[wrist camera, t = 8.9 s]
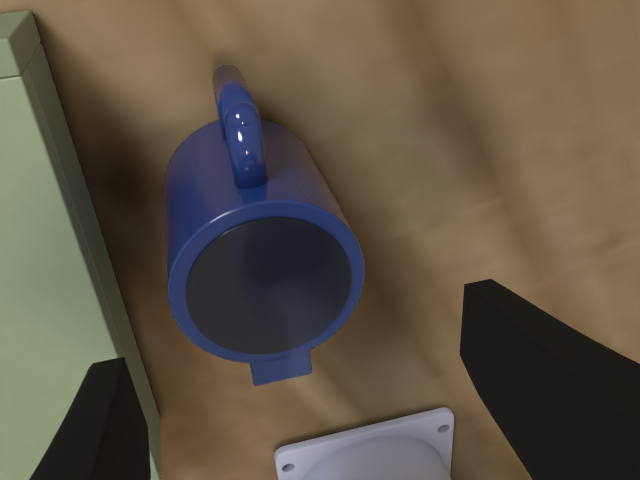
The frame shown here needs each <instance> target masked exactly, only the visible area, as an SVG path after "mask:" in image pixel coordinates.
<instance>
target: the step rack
mask: <svg viewBox="0 0 640 480" xmlns="http://www.w3.org/2000/svg"><path fill="white" fill-rule="evenodd" d="M40 42H41V39H40V36H39V33H38V30H37V27H36V23H35V20H34V17H33V14H32V12H31V11H30V10H25V11H17V12H9V13H0V480H29V479H30V477H31V475H32V474H33V472H34V471H35V469H36V467H37V466H38V464H39V463H40V461H41V459H42V457H43V456H44V454H45V452H46V450H47V449H48V447H49V445H50V443H51V441H52V440H53V438H54V436H55V434H56V432H57V430H58V429H59V427H60V425H61V423H62V421H63V419H64V417H65V416H66V414H67V412H68V410H69V408H70V406H71V404H72V402H73V400H74V398H75V396H76V394H77V392H78V390H79V388H80V385H81V383H82V381H83V379H84V377H85V375H86V373H87V370H88V369H89V367H90V366H91V365H92V363H96V362H101V361H106V360H110V359H115V358H120V357H125V360H126V363H127V366H128V369H129V372H130V375H131V378H132V381H133V384H134V387H135V390H136V393H137V396H138V399H139V402H140V405H141V408H142V411H143V414H144V416H145V419H146V422H147V425H148V435H149V450H150V468H151V480H161V454H160V417H159V414H158V410H157V407H156V405H155V401H154V398H153V394H152V391H151V388H150V385H149V382H148V379H147V375H146V372H145V369H144V366H143V363H142V360H141V356H140V353H139V350H138V347H137V344H136V341H135V337H134V334H133V331H132V328H131V325H130V322H129V318H128V315H127V312H126V309H125V306H124V302H123V299H122V296H121V293H120V290H119V287H118V283H117V280H116V277H115V274H114V271H113V268H112V264H111V261H110V258H109V255H108V252H107V249H106V245H105V242H104V239H103V236H102V233H101V230H100V226H99V223H98V220H97V217H96V214H95V211H94V207H93V204H92V201H91V198H90V195H89V192H88V188H87V185H86V182H85V179H84V176H83V173H82V169H81V166H80V163H79V160H78V157H77V154H76V150H75V147H74V144H73V141H72V138H71V135H70V131H69V128H68V125H67V122H66V119H65V116H64V112H63V109H62V106H61V103H60V100H59V97H58V93H57V90H56V87H55V84H54V81H53V78H52V74H51V71H50V68H49V65H48V62H47V59H46V55H45V52H44V49H43V46H42V45H41V44H40Z"/></svg>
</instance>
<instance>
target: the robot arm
mask: <svg viewBox="0 0 640 480" xmlns="http://www.w3.org/2000/svg"><path fill="white" fill-rule="evenodd" d="M460 356H461V359H462V361H463V363H464V365H465V367H466V370H467V372H468V374H469V376H470V378H471V380H472V382H473V384H474V386H475V388H476V390H477V392H478V395H479V396H480V398H481V399H482V401H483V403H484V404H485V406H486V407H487V409H488V411H489V412H490V414H491V415H492V417H493V418H494V420H495V422H496V423H497V425H498V426H499V428H500V429H501V431H502V432H503V434H504V436H505V437H506V439H507V440H508V442H509V443H510V445H511V446H512V448H513V449H514V451H515V453H516V454H517V456H518V457H519V459H520V460H521V462H522V463H523V465H524V466H525V468H526V470H527V471H528V473H529V474H530V476H531V477H532V479H533V480H640V364H639V363H637V362H635V361H633V360H631V359H629V358H627V357H625V356H623V355H621V354H619V353H617V352H615V351H613V350H611V349H609V348H607V347H605V346H604V345H602V344H600V343H598V342H596V341H594V340H592V339H591V338H589V337H587V336H585V335H583V334H582V333H580V332H578V331H576V330H575V329H573V328H571V327H569V326H568V325H566V324H564V323H563V322H561V321H559V320H558V319H556V318H554V317H553V316H551V315H549V314H548V313H546V312H544V311H543V310H541V309H539V308H538V307H536V306H535V305H533V304H531V303H530V302H528V301H527V300H525V299H523V298H522V297H520V296H518V295H517V294H515V293H514V292H512V291H510V290H509V289H507V288H506V287H504V286H502V285H501V284H499V283H497V282H495V281H494V280H492V279H488V280H483V281H478V282H474V283H469V284H464V299H463V314H462V328H461V343H460ZM453 429H454V415H453V413H452V411H451V410H450V409H449V408H446V407H443V408H437V409H433V410H429V411H425V412H421V413H417V414H413V415H409V416H405V417H400V418H396V419H392V420H388V421H384V422H380V423H376V424H372V425H367V426H363V427H359V428H355V429H351V430H347V431H343V432H339V433H335V434H330V435H326V436H322V437H318V438H314V439H310V440H306V441H302V442H297V443H293V444H289V445H285V446H282V447H280V448H279V449H277V450H276V452H275V453H274V459H275V465H276V471H277V476H278V480H451V479H450V470H451V456H452V443H453ZM29 480H151V468H150V450H149V435H148V425H147V422H146V419H145V416H144V414H143V411H142V408H141V405H140V402H139V399H138V396H137V393H136V390H135V387H134V384H133V381H132V378H131V375H130V372H129V369H128V366H127V363H126V360H125V357H120V358H115V359H110V360H106V361H101V362H96V363H92V365H91V366H90V367H89V369H88V370H87V373H86V375H85V377H84V379H83V381H82V383H81V385H80V388H79V390H78V392H77V394H76V396H75V398H74V400H73V402H72V404H71V406H70V408H69V410H68V412H67V414H66V416H65V417H64V419H63V421H62V423H61V425H60V427H59V429H58V430H57V432H56V434H55V436H54V438H53V440H52V441H51V443H50V445H49V447H48V449H47V450H46V452H45V454H44V456H43V457H42V459H41V461H40V463H39V464H38V466H37V467H36V469H35V471H34V472H33V474H32V475H31V477H30V479H29Z"/></svg>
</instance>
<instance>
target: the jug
mask: <svg viewBox="0 0 640 480" xmlns="http://www.w3.org/2000/svg"><path fill="white" fill-rule="evenodd" d="M212 81H213V88H214V93H215V99H216V105H217V111H218V117H219V121H216V122H213V123H210V124H208V125H206V126H204V127H202V128H200V129H199V130H197V131H196V132H194V133H193V134H191V135H190V136H189V137H188V138H187V139H186V140H185V141H184V142H183V143H182V144H181V145H180V146H179V147H178V149H177V150H176V152H175V153H174V155H173V156H172V158H171V160H170V162H169V164H168V166H167V170H166V173H165V177H164V184H163V195H164V218H165V242H166V265H167V289H168V300H169V306H170V309H171V312H172V315H173V318H174V319H175V321H176V323H177V325H178V327H179V328H180V329H181V330H182V332H183V333H184V334H185V335H186V336H187V337H188V338H189V339H190V340H191V341H192V342H193V343H194V344H196V345H197V346H198V347H200V348H201V349H203V350H204V351H206V352H208V353H210V354H212V355H215V356H217V357H220V358H223V359H226V360H230V361H235V362H242V363H250V368H251V373H252V378H253V383H254V385H255V386H258V385H263V384H267V383H272V382H276V381H281V380H285V379H290V378H294V377H298V376H303V375H307V374H311V373H312V365H311V356H310V350H311V349H313V348H315V347H316V346H318V345H320V344H321V343H323V342H324V341H326V340H327V339H328V338H330V337H331V336H332V335H333V334H335V333H336V332H337V331H338V330H339V329H340V328H341V327H342V326H343V324H344V323H345V322H346V321H347V320H348V319H349V317H350V316H351V314H352V312H353V311H354V309H355V307H356V305H357V303H358V301H359V299H360V296H361V293H362V290H363V285H364V280H365V262H364V256H363V252H362V249H361V246H360V244H359V242H358V240H357V238H356V236H355V234H354V232H353V230H352V229H351V227H350V225H349V223H348V221H347V220H346V218H345V216H344V214H343V212H342V210H341V209H340V207H339V205H338V203H337V201H336V200H335V198H334V196H333V194H332V192H331V190H330V189H329V187H328V185H327V183H326V181H325V180H324V178H323V176H322V174H321V172H320V170H319V169H318V167H317V165H316V163H315V161H314V160H313V158H312V156H311V154H310V152H309V151H308V149H307V148H306V146H305V145H304V144H303V142H302V141H301V140H300V139H299V138H298V137H297V136H296V135H295V134H293V133H292V132H291V131H290V130H288V129H286V128H285V127H283V126H281V125H279V124H277V123H275V122H272V121H269V120H266V119H262V118H260V114H259V112H258V110H257V107H256V105H255V103H254V100H253V98H252V96H251V93H250V91H249V89H248V87H247V84H246V82H245V80H244V77H243V75H242V73H241V71H240V70H239V69H238V68H237V67H235V66H233V65H222V66H220V67H218V68H217V69H216V70H215V72H214V74H213V79H212Z"/></svg>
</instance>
